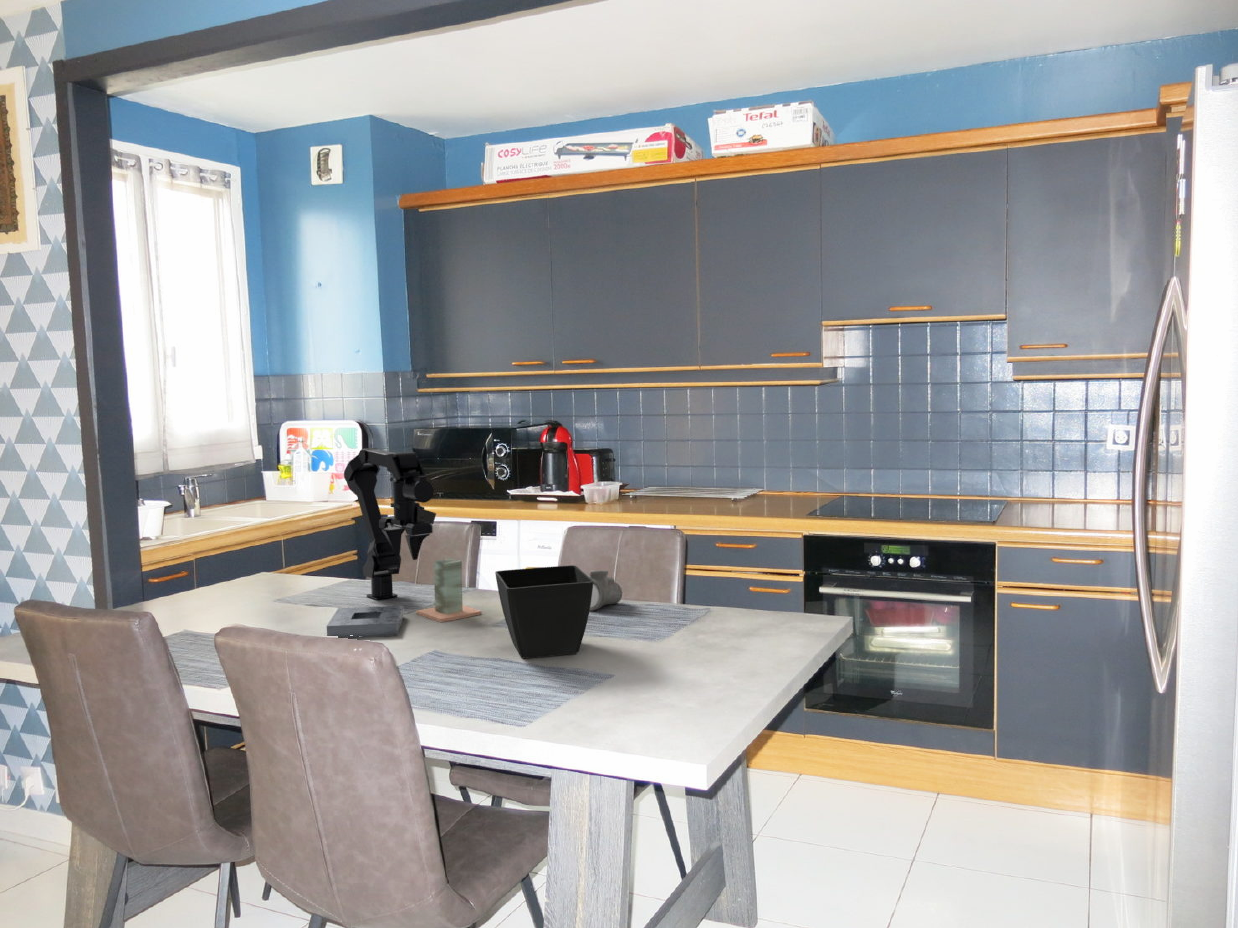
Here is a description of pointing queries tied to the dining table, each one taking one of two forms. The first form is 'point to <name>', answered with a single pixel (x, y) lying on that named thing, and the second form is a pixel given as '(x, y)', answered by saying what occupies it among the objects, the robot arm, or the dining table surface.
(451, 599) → the square plug
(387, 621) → the socket plate
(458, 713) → the dining table surface
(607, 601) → the pipe fitting
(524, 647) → the flower pot
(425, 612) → the terracotta pad
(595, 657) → the dining table surface
